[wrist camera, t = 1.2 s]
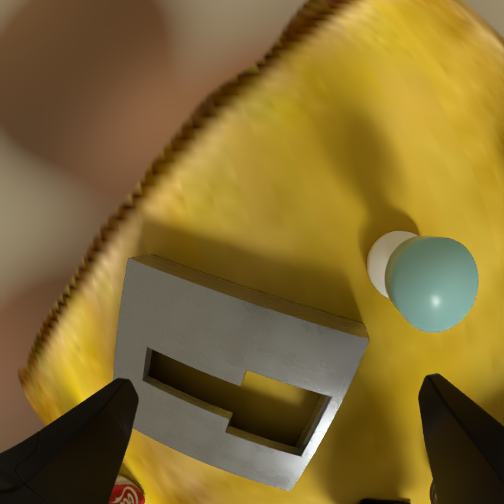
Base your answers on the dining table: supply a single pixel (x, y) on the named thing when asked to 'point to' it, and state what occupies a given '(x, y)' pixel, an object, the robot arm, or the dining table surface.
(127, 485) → the soda can
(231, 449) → the keyhole plate
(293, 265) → the dining table surface
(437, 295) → the peg
